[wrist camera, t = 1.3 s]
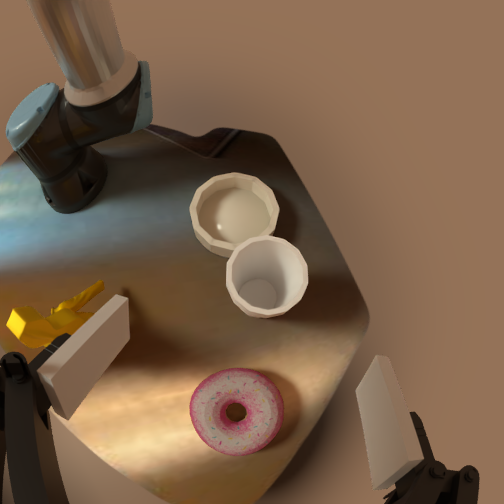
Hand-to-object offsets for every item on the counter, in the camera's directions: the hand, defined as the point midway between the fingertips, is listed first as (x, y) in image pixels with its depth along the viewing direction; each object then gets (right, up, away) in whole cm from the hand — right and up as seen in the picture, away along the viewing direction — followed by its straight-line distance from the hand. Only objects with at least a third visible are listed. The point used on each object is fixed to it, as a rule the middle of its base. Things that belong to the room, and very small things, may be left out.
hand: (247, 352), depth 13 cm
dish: (-3, +11, +35) cm, 37 cm away
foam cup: (+1, -2, +31) cm, 31 cm away
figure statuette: (-26, -9, +26) cm, 38 cm away
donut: (-2, -19, +24) cm, 31 cm away
